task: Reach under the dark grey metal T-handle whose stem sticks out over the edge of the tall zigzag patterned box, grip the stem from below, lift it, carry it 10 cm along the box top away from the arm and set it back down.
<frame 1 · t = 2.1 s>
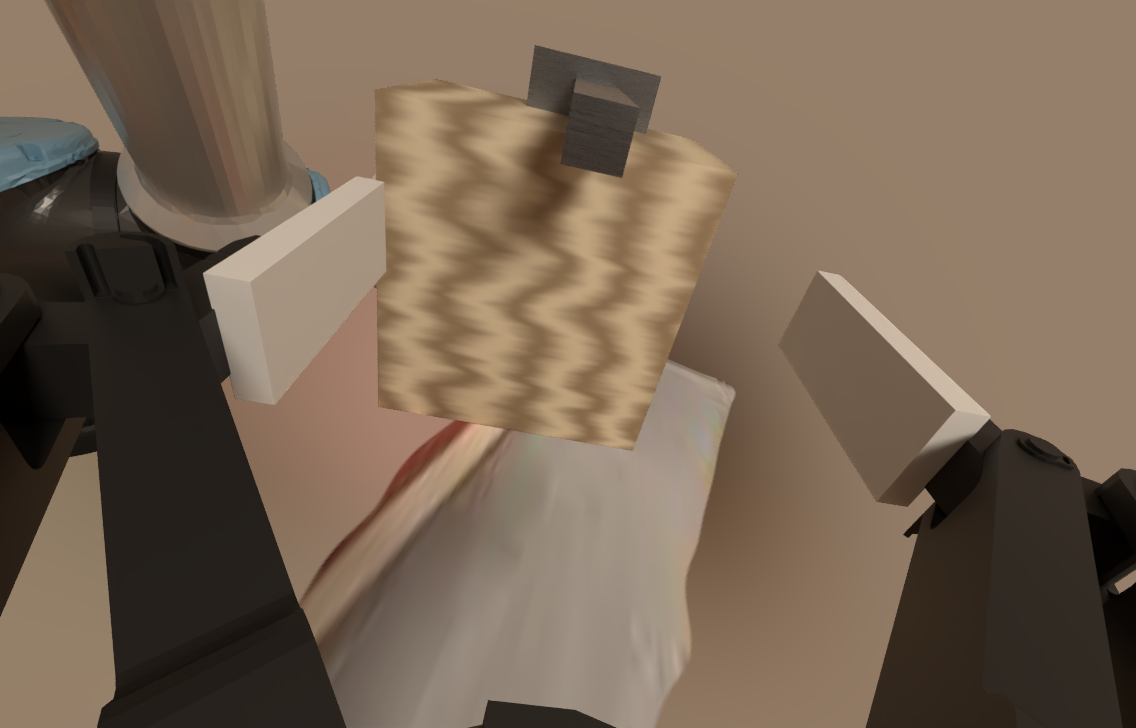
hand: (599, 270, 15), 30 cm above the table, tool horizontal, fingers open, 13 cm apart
t handle: (588, 135, 38), point 30 cm above the table, touching zigzag patterned box
zigzag patterned box: (517, 381, 60), on the table
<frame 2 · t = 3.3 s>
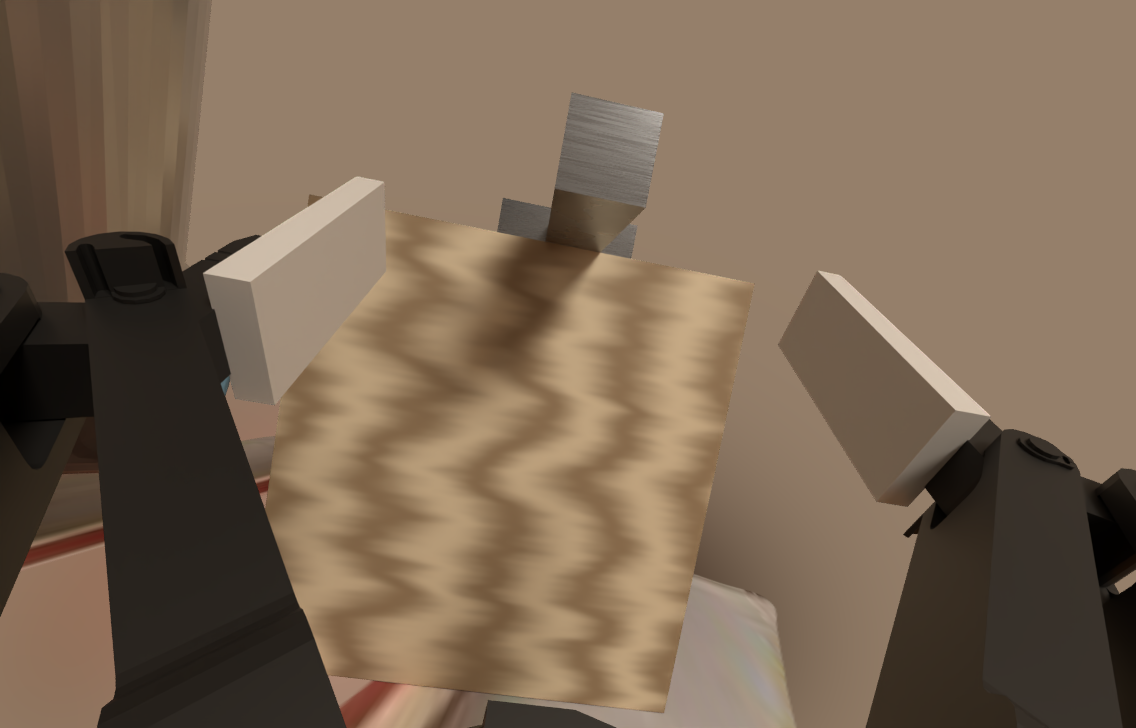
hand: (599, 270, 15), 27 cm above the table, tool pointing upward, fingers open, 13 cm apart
t handle: (570, 251, 32), point 30 cm above the table, touching zigzag patterned box
zigzag patterned box: (477, 609, 41), on the table
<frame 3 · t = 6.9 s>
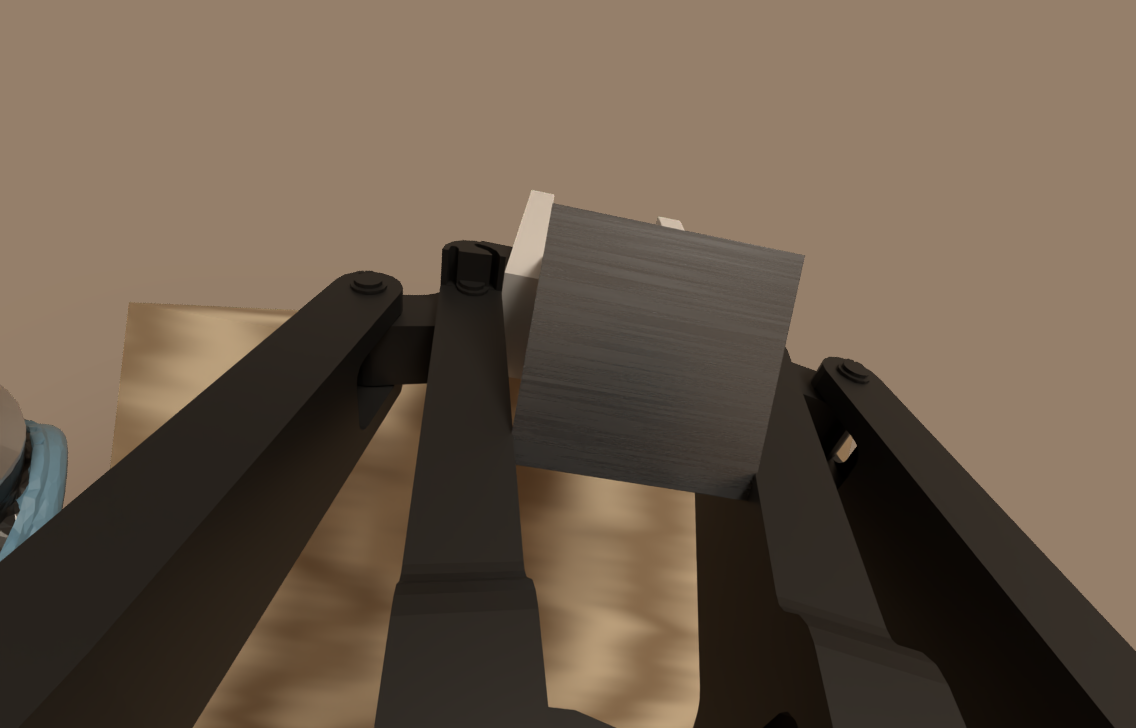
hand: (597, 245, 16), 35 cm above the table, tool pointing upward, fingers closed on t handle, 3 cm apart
t handle: (564, 373, 21), point 30 cm above the table, touching gripper, zigzag patterned box
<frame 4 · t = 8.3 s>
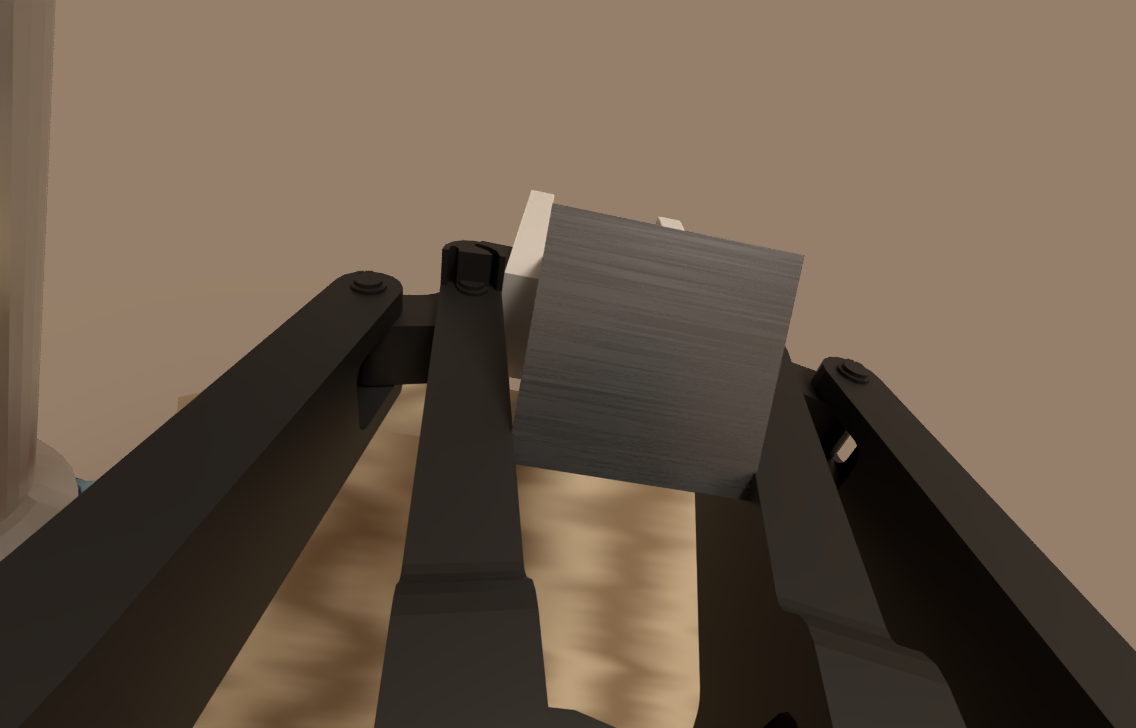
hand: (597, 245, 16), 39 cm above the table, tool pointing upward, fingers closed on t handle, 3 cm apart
t handle: (564, 373, 21), point 34 cm above the table, touching gripper
when the fingers open (39 cm above the table, at t = 10.2 s): t handle drops 4 cm, resting on zigzag patterned box.
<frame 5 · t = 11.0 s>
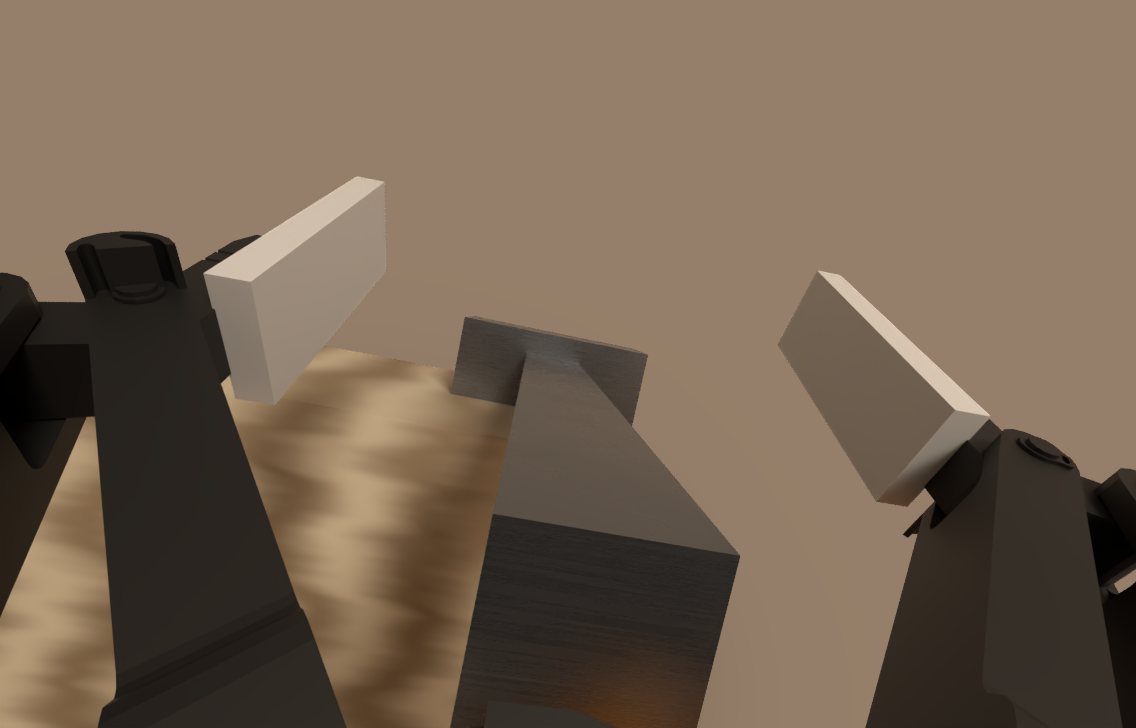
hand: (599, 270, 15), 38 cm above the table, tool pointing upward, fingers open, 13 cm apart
t handle: (546, 461, 21), point 30 cm above the table, touching zigzag patterned box
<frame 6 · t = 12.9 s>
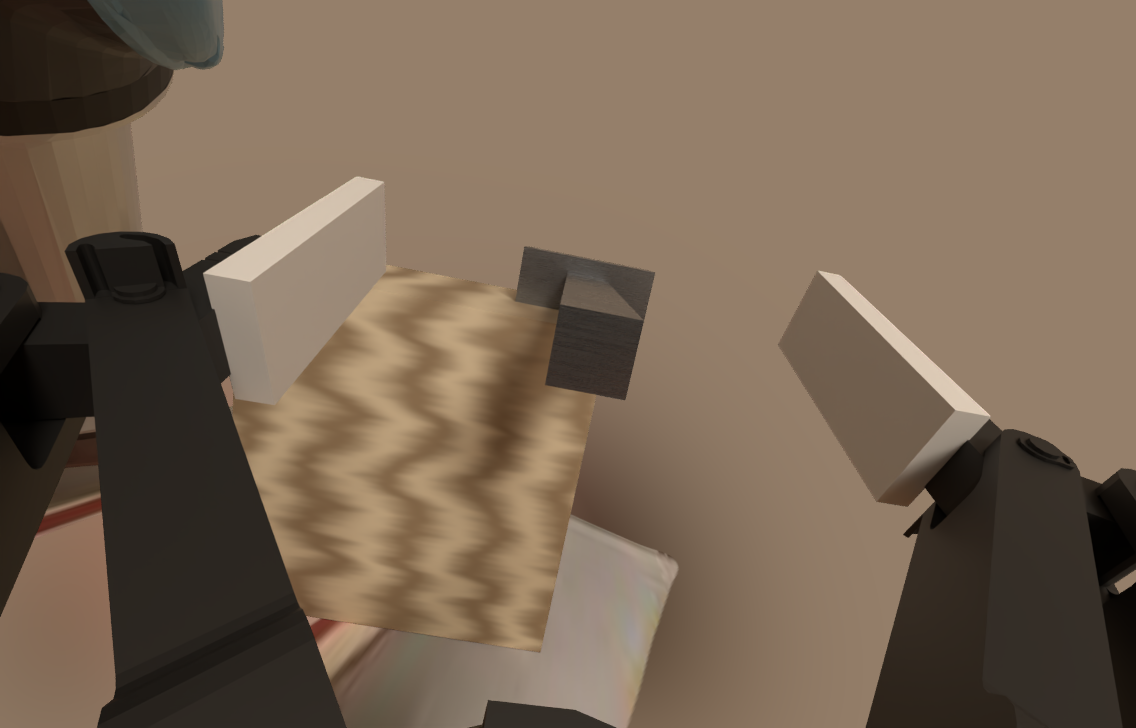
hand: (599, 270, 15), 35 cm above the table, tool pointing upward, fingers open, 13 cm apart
t handle: (580, 334, 34), point 30 cm above the table, touching zigzag patterned box
zigzag patterned box: (416, 563, 52), on the table
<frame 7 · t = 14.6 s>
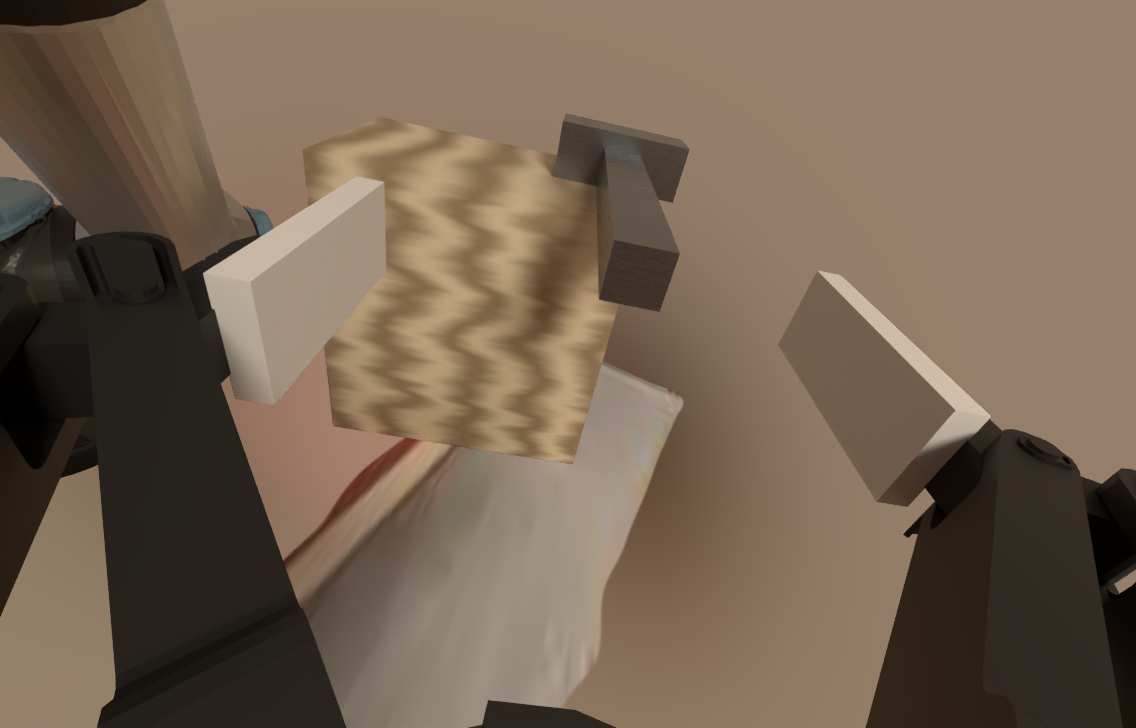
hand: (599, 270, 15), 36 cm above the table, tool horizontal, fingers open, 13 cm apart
t handle: (618, 224, 38), point 30 cm above the table, touching zigzag patterned box
zigzag patterned box: (470, 397, 64), on the table
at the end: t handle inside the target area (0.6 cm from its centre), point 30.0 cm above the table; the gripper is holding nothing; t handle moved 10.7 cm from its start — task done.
